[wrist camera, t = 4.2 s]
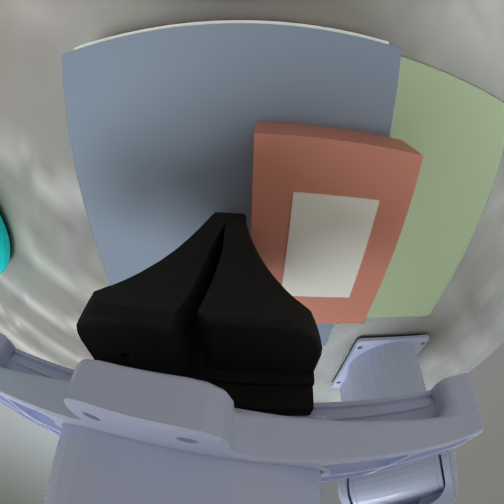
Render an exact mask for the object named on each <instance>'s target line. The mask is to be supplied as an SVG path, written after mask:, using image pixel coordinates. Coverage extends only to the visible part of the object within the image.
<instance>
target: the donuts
mask: <svg viewBox="0 0 504 504" xmlns="http://www.w3.org/2000/svg"><path fill="white" fill-rule="evenodd" d="M9 260H10V241H9V236H8V233H7V229H6V227H5V224H4V221H3V219H2V217H1V215H0V274H1V273H2V272H4V270H5V269H6V267H7V265H8V263H9Z"/></svg>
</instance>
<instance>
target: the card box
mask: <svg viewBox="0 0 504 504" xmlns="http://www.w3.org/2000/svg"><path fill="white" fill-rule="evenodd" d="M422 160H423V155H422V154H421V153H419V152H418V151H417V150H415V149H414V148H412V147H411V146H410V145H408V144H407V143H405V142H404V141H403V140H400V139H396V138H391V137H386V136H381V135H375V134H370V133H364V132H358V131H352V130H345V129H338V128H330V127H322V126H313V125H303V124H292V123H278V122H259V121H256V127H255V132H254V156H253V188H252V221H251V238H252V241H253V243H254V245H255V247H256V249H257V251H258V253H259V255H260V257H261V258H262V260H263V262H264V263H265V265H266V266H267V268H268V269H269V270H270V272H271V273H272V274H273V276H274V277H275V278H276V279H277V280H278V282H279V283H280V284H281V285H282V286H283V287H284V288H285V289H286V290H287V291H288V292H289V293H290V294H291V295H292V296H293V297H294V298H295V299H296V300H298V301H299V302H300V303H302V304H303V305H304V306H305V307H307V308H308V309H309V310H310V311H311V312H312V314H313V317H314V319H315V322H316V323H364V321H365V318H366V316H367V314H368V312H369V310H370V308H371V306H372V303H373V301H374V299H375V297H376V295H377V292H378V290H379V288H380V285H381V283H382V281H383V278H384V276H385V273H386V271H387V268H388V266H389V263H390V261H391V258H392V256H393V253H394V250H395V248H396V245H397V242H398V239H399V237H400V234H401V231H402V228H403V225H404V222H405V219H406V216H407V213H408V210H409V207H410V203H411V200H412V197H413V193H414V190H415V186H416V183H417V179H418V176H419V172H420V168H421V164H422Z"/></svg>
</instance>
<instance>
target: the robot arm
mask: <svg viewBox="0 0 504 504" xmlns="http://www.w3.org/2000/svg"><path fill="white" fill-rule="evenodd" d="M77 332H78V334H79V336H80V338H81V340H82V342H83V343H84V345H85V346H86V348H87V349H88V351H89V352H90V353H91V355H92V356H93V358H94V359H95V360H90V359H85V360H82V361H80V362H79V363H78V364H77V366H76V368H75V370H72V369H69V368H66V367H63V366H60V365H57V364H55V363H52V362H49V361H46V360H44V359H41V358H38V357H36V356H33V355H31V354H28V353H26V352H23V351H21V350H19V349H16V348H15V346H14V345H13V344H12V342H11V341H10V340H9V339H8V338H7V337H6V336H5V335H3V334H1V333H0V402H1V403H2V404H4V405H6V406H7V407H9V408H10V409H12V410H13V411H15V412H17V413H18V414H20V415H22V416H23V417H25V418H27V419H29V420H30V421H32V422H34V423H36V424H37V425H39V426H41V427H43V428H44V429H46V430H48V431H50V432H52V433H54V434H56V435H58V436H60V438H59V442H58V445H57V449H56V453H55V456H54V460H53V464H52V468H51V472H50V476H49V480H48V485H47V490H46V495H45V500H44V504H321V488H320V482H326V481H334V480H338V493H339V498H340V501H341V503H342V504H455V502H456V497H457V496H458V495H459V488H458V479H459V478H458V469H457V461H456V455H455V449H454V448H455V447H457V446H459V445H461V444H463V443H465V442H466V441H468V440H470V439H471V438H473V437H475V436H476V435H478V434H480V433H482V432H483V431H484V425H483V421H482V417H481V414H480V410H479V407H478V403H477V399H476V396H475V393H474V390H473V387H472V383H471V380H470V377H469V375H468V374H467V373H465V374H461V375H457V376H452V377H448V378H445V379H443V380H441V381H440V382H438V383H437V384H436V385H435V386H434V387H433V389H432V390H429V391H426V387H425V383H424V379H423V376H422V372H421V369H420V366H419V362H418V359H417V355H418V353H419V352H420V351H421V350H422V348H423V347H424V346H425V344H426V343H427V342H428V341H429V339H430V338H429V335H414V336H398V337H377V338H360V339H358V340H357V341H356V343H355V344H354V346H353V348H352V350H351V352H350V353H349V355H348V357H347V359H346V360H345V362H344V364H343V366H342V367H341V369H340V371H339V372H338V374H337V376H336V378H335V379H334V381H333V382H332V384H331V385H332V388H340V392H341V401H342V402H327V403H313V387H312V386H313V385H314V370H315V367H316V365H317V363H318V361H319V358H320V356H321V352H322V343H321V338H320V334H319V331H318V327H317V325H316V322H315V319H314V317H313V314H312V312H311V311H310V310H309V309H308V308H307V307H305V306H304V305H303V304H302V303H300V302H299V301H298V300H296V299H295V298H294V297H293V296H292V295H291V294H290V293H289V292H288V291H287V290H286V289H285V288H284V287H283V286H282V285H281V284H280V283H279V282H278V280H277V279H276V278H275V277H274V276H273V274H272V273H271V272H270V270H269V269H268V268H267V266H266V265H265V263H264V262H263V260H262V258H261V257H260V255H259V253H258V251H257V249H256V247H255V245H254V243H253V241H252V238H251V236H250V233H249V230H248V227H247V222H246V215H245V214H243V213H222V212H215V213H214V214H213V215H212V216H211V217H210V218H209V219H208V220H207V221H206V222H205V223H204V224H203V225H202V226H201V227H200V228H199V229H198V230H197V231H196V232H195V233H194V234H193V235H192V236H191V237H190V238H189V239H187V240H186V241H185V242H184V243H183V244H182V245H181V246H179V247H178V248H177V249H176V250H174V251H173V252H172V253H170V254H169V255H168V256H166V257H165V258H163V259H162V260H160V261H159V262H157V263H155V264H154V265H152V266H150V267H148V268H147V269H145V270H143V271H142V272H140V273H138V274H136V275H134V276H132V277H130V278H127V279H125V280H123V281H121V282H119V283H116V284H113V285H111V286H108V287H105V288H103V289H100V290H97V291H94V293H93V294H92V296H91V298H90V299H89V301H88V303H87V305H86V307H85V309H84V311H83V312H82V314H81V316H80V318H79V320H78V323H77ZM417 498H418V499H417ZM410 500H411V501H410Z"/></svg>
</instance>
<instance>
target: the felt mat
mask: <svg viewBox="0 0 504 504" xmlns="http://www.w3.org/2000/svg"><path fill="white" fill-rule="evenodd" d="M390 137H391V138H396V139H400V140H403V141H404V142H405V143H407V144H408V145H410V146H411V147H412V148H414V149H415V150H417V151H418V152H419V153H421V154H422V155H423V160H422V164H421V168H420V172H419V176H418V179H417V183H416V186H415V190H414V193H413V197H412V200H411V203H410V207H409V210H408V213H407V216H406V219H405V222H404V225H403V228H402V231H401V234H400V237H399V239H398V242H397V245H396V248H395V250H394V253H393V256H392V258H391V261H390V263H389V266H388V268H387V271H386V273H385V276H384V278H383V281H382V283H381V285H380V288H379V290H378V292H377V295H376V297H375V299H374V301H373V303H372V306H371V308H370V310H369V312H368V314H367V316H366V318H376V317H416V316H429V315H430V314H431V312H432V310H433V309H434V307H435V306H436V304H437V302H438V301H439V299H440V297H441V296H442V294H443V292H444V291H445V289H446V287H447V286H448V284H449V282H450V280H451V278H452V277H453V275H454V273H455V271H456V269H457V267H458V265H459V263H460V262H461V260H462V258H463V256H464V254H465V252H466V250H467V247H468V245H469V243H470V241H471V239H472V237H473V235H474V232H475V230H476V228H477V225H478V223H479V221H480V218H481V216H482V213H483V211H484V208H485V206H486V203H487V201H488V198H489V195H490V192H491V189H492V187H493V184H494V181H495V178H496V174H497V171H498V168H499V165H500V161H501V158H502V154H503V150H504V102H502V101H500V100H499V99H497V98H495V97H493V96H492V95H490V94H488V93H486V92H484V91H482V90H481V89H479V88H477V87H475V86H473V85H471V84H469V83H467V82H465V81H462V80H460V79H458V78H456V77H454V76H452V75H449V74H447V73H445V72H442V71H440V70H437V69H435V68H432V67H430V66H427V65H425V64H422V63H419V62H416V61H413V60H410V59H408V58H404V57H401V65H400V74H399V82H398V90H397V97H396V103H395V110H394V116H393V122H392V127H391V133H390Z"/></svg>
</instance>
